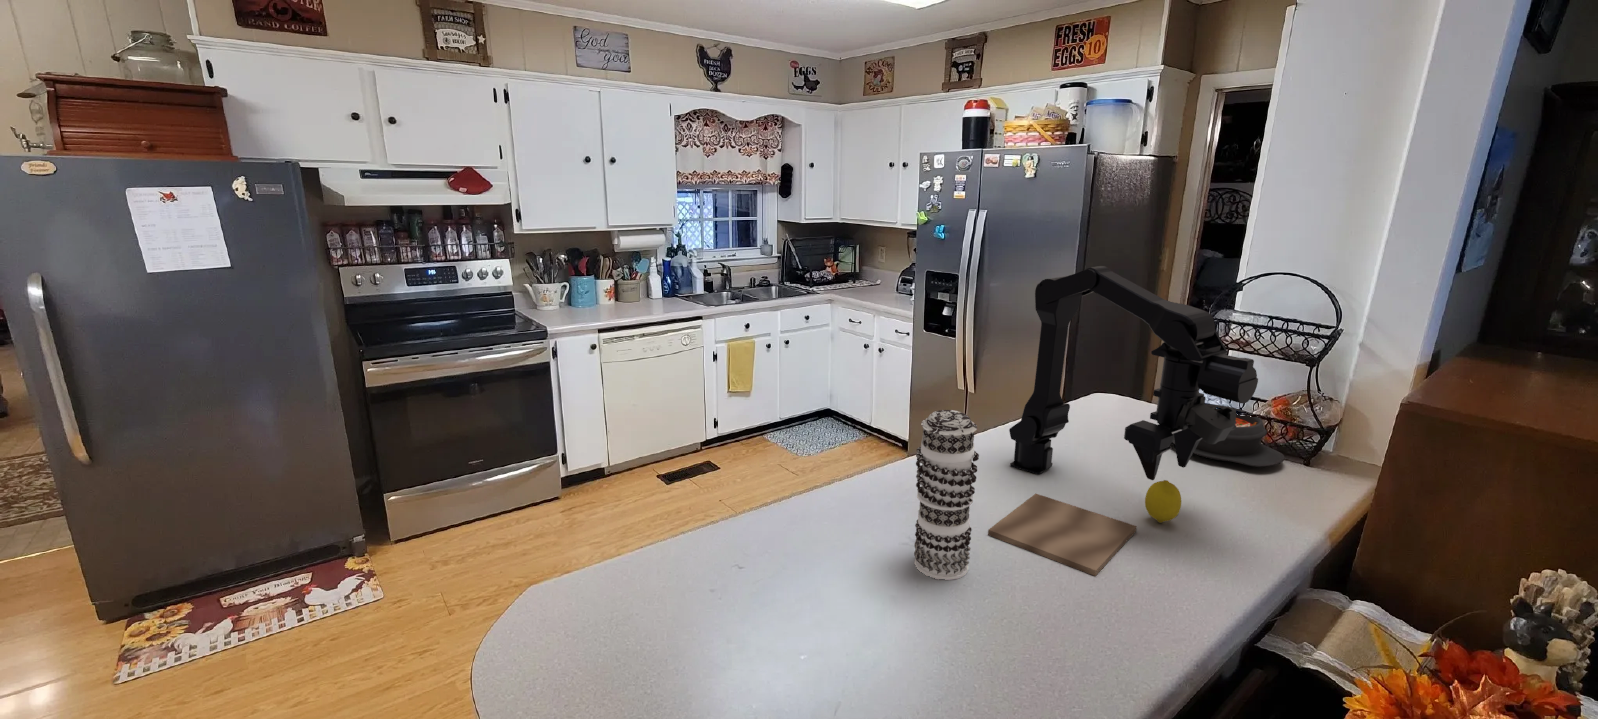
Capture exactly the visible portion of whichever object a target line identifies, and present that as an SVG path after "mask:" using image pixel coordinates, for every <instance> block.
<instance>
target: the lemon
mask: <svg viewBox="0 0 1598 719" xmlns="http://www.w3.org/2000/svg"><path fill="white" fill-rule="evenodd" d="M1145 494H1146V495H1145V498H1144V505H1145V506H1144V507H1145V509H1146V511H1147V513H1148V515H1150V517H1151V518H1153V519H1154V520H1156V521H1157V522H1158V523H1164V522H1168V521H1169V522H1170V521H1173V519H1175V518H1176V517H1177V516H1178V515H1179V513H1180V512H1181V508H1182V495H1181V492H1180V490H1179V488H1178V487H1177V486H1176V485H1175V484H1173V483H1172V482H1170V481H1169V480H1167V479H1163V480H1161V481H1156V482H1154V483H1152V484H1151V485H1150V487H1148V489H1147V492H1146V493H1145Z"/></svg>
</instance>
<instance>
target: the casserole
mask: <svg viewBox="0 0 1598 719" xmlns="http://www.w3.org/2000/svg"><path fill="white" fill-rule="evenodd" d="M1205 405H1206V406H1208V407H1210V408H1213V407H1215V408H1216V407H1218V408H1224V407H1227V406H1228V405H1227V406H1225V405H1220V404H1209V403H1208V404H1207V403H1205ZM1230 407H1231V408H1232V409H1234V410H1237V411H1241V412H1246V413H1248V414H1250V415H1253V414H1254V413H1253V412H1249V411H1246V410H1243V409H1240V408H1235V407H1232V406H1230ZM1217 410H1219V409H1216V411H1217ZM1258 417H1259V416H1258ZM1258 417H1250V416H1240V415H1237V414H1236V422H1237V423H1236V424H1235V425H1236V429H1234V430H1231V431H1230V433H1229V434H1228V436H1227V437H1226V439H1225V440H1224V441H1219V442H1217V443H1216V444H1209V443H1207V442H1205V441H1204V440H1203V438H1202V439H1201V440H1200V442H1199V443H1198V445H1197V447H1196V449H1195V451H1194V452H1193V455H1196V456H1199V457H1202V458H1204V459H1205V458H1206V459H1209V460H1214V461H1215V460H1216V461H1222V462H1233V463H1237V464H1240V465H1245V466H1248V467H1249V466H1250V467H1256V468H1263V467H1264V468H1265V467H1272V466H1276V465H1279V464H1281V463H1283V462H1284V461H1285V455H1284V454H1283V453H1282V452H1280V451H1278V450H1277V449H1274V448H1272V447H1270V446H1267V445H1265V444H1264V443H1262V442H1261V441H1262V439H1263V438H1264V437H1265V436H1267V433H1268V431H1267V429H1266V427H1264V422H1263V420H1262V418H1261V417H1259V418H1258ZM1261 443H1262V444H1261ZM1171 444H1174V445H1175V439H1174V433H1173V440H1172V443H1171Z"/></svg>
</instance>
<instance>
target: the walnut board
mask: <svg viewBox="0 0 1598 719" xmlns="http://www.w3.org/2000/svg"><path fill="white" fill-rule="evenodd" d="M1137 526H1138V525H1135V524H1132V523H1128V522H1126V521H1122V520H1120V519H1116V518H1113V517H1109V516H1106V515H1103V514H1101V513H1098V512H1095V511H1092V510H1088V509H1085V508H1082V507H1079V506H1076V505H1073V504H1071V503H1070V504H1069V503H1067V502H1064V501H1060V500H1057V499H1054V498H1051V497H1049V496H1045V495H1042V494H1038V493H1035V494H1033V495H1032V496H1030V497H1029V498H1028V499H1027V500H1025V501H1024V502H1023V503H1021V504H1019V505H1018V506H1017V507H1016V508H1015V509H1014V510H1012V511H1010V513H1008V514H1007V515H1005V516H1004V517H1003V518H1002V519H1001V520H999V521H998V522H996V523H995V524H994V525H993V526H991V527H990V528H988V530H987V536H990V537H992V538H995V539H997V540H1000V541H1002V542H1005V543H1007V544H1010V545H1013V546H1015V547H1018V548H1020V549H1024V550H1026V551H1028V552H1031V553H1034V554H1036V555H1039V556H1041V557H1045V558H1047V559H1049V560H1053V561H1054V562H1058V563H1060V564H1062V565H1065V566H1067V567H1070V568H1073V569H1075V570H1078V571H1081V572H1083V573H1086V574H1089V575H1091V576H1094V577H1096V576H1097V575H1098V574H1099V573H1100V572H1101V571H1102V569H1103V568H1104V567H1105V566H1107V564H1108V563H1109V562H1110V561H1111V559H1113V558H1114V557H1115V555H1116V554H1117V553H1118V552H1119V551H1120V550H1121V549H1122V547H1123V546H1124V545H1125V544H1127V542H1128V541H1129V540H1130V539H1131V538H1132V537H1133V536H1134V534H1135V533H1136V532H1137Z"/></svg>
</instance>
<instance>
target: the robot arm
mask: <svg viewBox="0 0 1598 719" xmlns="http://www.w3.org/2000/svg"><path fill="white" fill-rule="evenodd" d="M1034 289H1035V290H1034V302H1035V303H1034V306H1035V308H1034V309H1035V312H1036V314H1037V316H1038V318H1039V320H1040V332H1039V334H1040V335H1039V343H1038V351H1037V358H1036V359H1037V360H1036V370H1035V378H1034V387H1033V391H1032V394H1031V395H1030V397H1029V399H1028V400H1027V401H1026V403H1025V405H1024V408H1023V411H1022V415H1021V420H1020V421H1018V422H1017V423H1016V424H1014V425H1013V426H1011V427H1010V428H1009V430H1008V431H1009V435H1010V439H1011V440H1013V441H1014V442H1015V444H1014V457H1013V461H1011V462H1010V463H1009V466H1010V467H1013V468H1016V469H1019V470H1023V471H1025V472H1029V473H1033V474H1035V475H1042V473H1044V472H1046V471H1047V470H1049V469H1050V468H1051V467H1052V466H1053V462H1052V461H1053V453H1054V452H1053V450H1054V448H1053V447H1052V439H1055V438H1057V436H1058V434H1059V433H1060V431H1062V430H1064V429H1065V426H1066V424H1068V423H1069V422H1070V421H1069V412H1070V408H1071V405H1070V403H1067V402H1064V400H1063V398H1062V396H1061V387H1062V381H1063V372H1064V370H1063V369H1064V362H1065V356H1066V346H1067V339H1068V330H1069V325H1070V322H1071V321H1072V319H1073V318H1074V317H1075V315H1076V313H1077V311H1078V310H1079V307H1080V303H1081V300H1082V297H1084V296H1086V295H1089V294H1093V293H1095V294H1097V295H1099V297H1102V298H1104V299H1106V300H1107V301H1108V302H1111V303H1112V304H1114V305H1115V306H1118V307H1119V308H1120V309H1123V310H1125V311H1126V312H1128V313H1129V314H1131V315H1133V316H1135V317H1137V318H1139V319H1141V320H1142V321H1143V322H1144V323H1146V324H1147V325H1148V327H1149V328H1150V329H1151V331H1152V332H1153V334H1154V335H1155V336H1157V337H1158V338H1159V339H1160V340H1162V341H1163V342H1162V343H1161V345H1160V346H1158V347H1156V348H1155V349H1153V350H1151V352H1150V353H1151V355H1153V356H1156V357H1159V358H1163V361H1162V362H1163V363H1162V371H1161V376H1160V383H1159V384H1160V385H1159V388H1156V389H1153V395H1152V396H1153V397H1157V404H1156V410H1155V411H1153V412H1150V414H1149V419H1150V420H1154V421H1157V422H1156V423H1157V424H1156V423H1154V422H1150V421H1148V420H1145V419H1142V420H1140V421H1137V422H1133V423H1131V424H1129V425H1127V426H1126V427H1125V428H1124V434H1123V436H1124V437H1123V439H1124V440H1125V441H1128V443H1129V444H1131V445H1132V446H1133V448H1134V450H1135V452H1136V455H1137V457H1138V459H1139V460H1140V463H1141V464H1140V465H1141V466H1142V469H1143V471H1144V473H1145V477H1146V478H1147V479H1148V480H1150V481H1154V480H1155V478H1156V476H1157V473H1158V472H1159V471H1158V469H1159V466H1160V463H1161V459H1162V456H1163V454H1164V453H1166V452H1168V451H1170V450H1172V447H1171V444H1173V443H1172V440H1173V433H1174V439H1175V444H1174V447H1175V452H1176V453H1175V454H1176V460H1177V464H1178V466H1179V467H1181V468H1186V467H1187V466H1188V464H1189V461H1190V459H1191V458H1192V456H1193V455H1194V453H1193V452H1194V451H1195V449H1196V447H1197V445H1198V443H1199V442H1200V440H1201V439H1202V438H1203V440H1204V441H1205V442H1207V443H1209V444H1216V443H1217V442H1219V441H1224V440H1225V439H1226V437H1227V436H1228V434H1229V433H1230V431H1231V430H1234V429H1236V425H1235V424H1236V423H1237V422H1236V410H1234V409H1232V408H1233V407H1232V406H1229V405H1227V407H1224V408H1221V409H1219V410H1217V411H1216V408H1215V407H1213V408H1210V407H1208V406H1206V405H1205V404H1206V396H1205V394H1206V395H1210V396H1213V397H1217V398H1221V399H1222V400H1223V399H1224V400H1227V401H1231V402H1236V403H1240V404H1244V405H1245V404H1247V403H1248V402H1249V401H1250V400H1251V399H1252V398H1253V396H1254V394H1255V392H1256V389H1257V387H1258V383H1259V378H1258V374H1257V369H1256V368H1255V367H1254V363H1255V360H1254V359H1251V358H1248V357H1237V356H1233V355H1228V350H1227V348H1226V346H1225V343H1223V341H1222V339H1221V338H1220V336H1219V334H1218V332H1217V329H1216V324H1215V321H1214V320H1215V319H1214V317H1213V315H1211V313H1209V312H1208V311H1206V310H1204V309H1200V308H1198V307H1194V306H1192V305H1188V304H1183V303H1179V302H1173V301H1170V300H1167V299H1164V298H1162V297H1160V296H1159V295H1156V294H1155V293H1152V292H1151V291H1149V290H1148V289H1145V288H1144V287H1142V286H1140V285H1139V284H1136V283H1134V282H1133V281H1131V280H1129V279H1127V278H1125V277H1123V276H1121V275H1119V274H1118V273H1116V272H1114V271H1112V270H1111V268H1109V267H1107V266H1105V265H1099V266H1091V267H1087V268H1085V269H1084V270H1083V269H1082V270H1081V271H1078V272H1076V273H1073V274H1070V275H1065V276H1057V277H1050V278H1044V279H1042V280H1041V281H1040V282H1039V283H1037V284H1036V287H1035V288H1034ZM1199 345H1204V346H1201V347H1198V346H1199ZM1200 390H1201V391H1202V392H1203V393H1202V392H1200ZM1231 407H1232V408H1231Z"/></svg>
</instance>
